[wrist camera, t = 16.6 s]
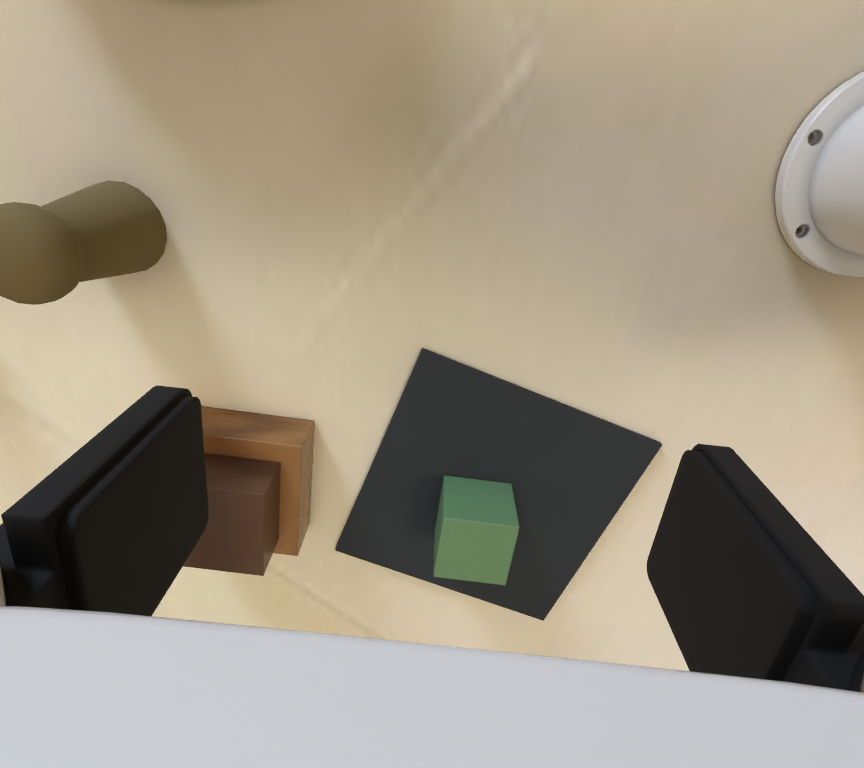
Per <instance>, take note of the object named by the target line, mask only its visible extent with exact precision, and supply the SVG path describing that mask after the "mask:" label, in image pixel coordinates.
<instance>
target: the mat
mask: <svg viewBox="0 0 864 768" xmlns="http://www.w3.org/2000/svg"><path fill="white" fill-rule="evenodd" d="M661 446H662V444H661V443H660V442H658V441H655V440H653V439H650V438H648V437H645V436H643V435H640V434H638V433H635V432H633V431H630V430H628V429H625V428H622V427H620V426H617V425H615V424H612V423H610V422H607V421H605V420H602V419H600V418H597V417H595V416H592V415H590V414H587V413H585V412H582V411H580V410H577V409H575V408H572V407H570V406H567V405H565V404H562V403H560V402H557V401H555V400H552V399H549V398H547V397H544V396H542V395H539V394H537V393H534V392H532V391H529V390H527V389H524V388H522V387H519V386H517V385H514V384H512V383H509V382H507V381H504V380H502V379H499V378H497V377H494V376H492V375H489V374H487V373H484V372H482V371H479V370H476V369H474V368H471V367H469V366H466V365H464V364H461V363H459V362H456V361H454V360H451V359H449V358H446V357H444V356H441V355H439V354H436V353H434V352H431V351H429V350H426V349H424V348H422V350H421V353H420V355H419V357H418V360H417V362H416V364H415V366H414V369H413V371H412V373H411V376H410V378H409V380H408V383H407V385H406V387H405V389H404V392H403V394H402V396H401V399H400V401H399V403H398V406H397V408H396V410H395V413H394V415H393V417H392V419H391V422H390V424H389V426H388V429H387V431H386V433H385V436H384V438H383V440H382V442H381V445H380V447H379V449H378V452H377V454H376V456H375V459H374V461H373V463H372V465H371V468H370V470H369V472H368V475H367V477H366V479H365V482H364V484H363V486H362V489H361V491H360V493H359V495H358V498H357V500H356V502H355V505H354V507H353V509H352V512H351V514H350V516H349V518H348V521H347V523H346V525H345V528H344V530H343V532H342V535H341V537H340V539H339V541H338V544H337V546H336V549H335V550H336V551H339V552H342V553H345V554H348V555H351V556H354V557H357V558H360V559H363V560H365V561H368V562H371V563H374V564H377V565H380V566H383V567H386V568H389V569H392V570H395V571H398V572H401V573H404V574H407V575H410V576H413V577H416V578H419V579H422V580H425V581H428V582H431V583H434V584H437V585H440V586H443V587H445V588H448V589H451V590H454V591H457V592H460V593H463V594H466V595H469V596H472V597H475V598H478V599H481V600H484V601H487V602H490V603H493V604H496V605H499V606H502V607H505V608H508V609H511V610H514V611H517V612H520V613H523V614H525V615H528V616H531V617H534V618H537V619H540V620H544V619H545V617H546V616H547V614H548V613H549V611H550V610H551V608H552V607H553V606H554V604H555V603H556V601H557V600H558V598H559V597H560V595H561V594H562V592H563V591H564V589H565V588H566V586H567V585H568V583H569V582H570V580H571V579H572V577H573V576H574V575H575V573H576V572H577V570H578V569H579V567H580V566H581V564H582V563H583V561H584V560H585V558H586V557H587V555H588V554H589V552H590V551H591V549H592V548H593V546H594V545H595V543H596V542H597V541H598V539H599V538H600V536H601V535H602V533H603V532H604V530H605V529H606V527H607V526H608V524H609V523H610V521H611V520H612V518H613V517H614V515H615V514H616V512H617V511H618V510H619V508H620V507H621V505H622V504H623V502H624V501H625V499H626V498H627V496H628V495H629V493H630V492H631V490H632V489H633V487H634V486H635V484H636V483H637V481H638V480H639V479H640V477H641V476H642V474H643V473H644V471H645V470H646V468H647V467H648V465H649V464H650V462H651V461H652V459H653V458H654V456H655V455H656V453H657V452H658V450H659V449H660V448H661ZM444 476H453V477H461V478H469V479H477V480H485V481H493V482H501V483H509V484H512V489H513V495H514V500H515V506H516V511H517V517H518V522H519V531H518V536H517V540H516V544H515V548H514V552H513V556H512V561H511V565H510V569H509V573H508V577H507V581H506V585H499V584H490V583H482V582H474V581H465V580H457V579H449V578H440V577H434V576H433V573H434V543H435V526H436V520H437V514H438V508H439V502H440V496H441V490H442V484H443V478H444Z"/></svg>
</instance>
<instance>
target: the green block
mask: <svg viewBox="0 0 864 768" xmlns="http://www.w3.org/2000/svg"><path fill="white" fill-rule="evenodd" d="M518 531H519V522H518V517H517V511H516V506H515V500H514V495H513V489H512V484H509V483H501V482H493V481H485V480H477V479H469V478H461V477H453V476H444V478H443V484H442V490H441V496H440V502H439V508H438V514H437V520H436V526H435V543H434V573H433V576H434V577H440V578H449V579H457V580H465V581H474V582H482V583H490V584H499V585H506V581H507V577H508V573H509V569H510V565H511V561H512V556H513V552H514V548H515V544H516V540H517V536H518Z"/></svg>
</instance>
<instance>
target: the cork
mask: <svg viewBox="0 0 864 768" xmlns="http://www.w3.org/2000/svg"><path fill="white" fill-rule="evenodd" d="M165 244H166V230H165V224H164V222H163V219H162V217H161V214H160V212H159V210H158V209H157V208H156V206H155V205H154V204H153V202H152V201H151V199H150V198H148V197H147V196H146V195H145V194H143V193H142V192H141V191H140V190H138V189H137V188H135V187H132V186H130V185H128V184H125V183H123V182H113V181H107V182H102V183H98V184H95V185H92V186H90V187H87V188H85V189H82V190H80V191H78V192H75V193H73V194H70V195H68V196H65V197H63V198H60V199H58V200H55V201H53V202H50V203H48V204H46V205H43V206H41V207H40V206H37V205H32V204H25V203H16V202H13V203H5V204H1V205H0V296H2V297H5V298H7V299H10V300H12V301H15V302H17V303H24V304H43V303H48V302H53V301H56V300H58V299H60V298H62V297H64V296H65V295H67V294H68V293H69V292H71V291H72V290H73V289H74V288H75V287H76V286H77V284H78V283H79V282H82V281H88V280H94V279H100V278H105V277H111V276H117V275H123V274H129V273H135V272H139V271H144V270H147V269H148V268H150V267H151V266H153V265H154V264H156V263H157V262H158V260H159V259H160V257H161V256H162V254H163V252H164V248H165Z"/></svg>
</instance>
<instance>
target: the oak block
mask: <svg viewBox="0 0 864 768" xmlns="http://www.w3.org/2000/svg"><path fill="white" fill-rule="evenodd" d="M201 413H202V427H203V440H204V453H210V454H218V455H226V456H234V457H242V458H250V459H258V460H266V461H274V462H280V463H281V469H280V511H279V540H278V542H277V544H276V547H275V549H274V551H273V553H278V554H286V555H295V556H298V554H299V551H300V548H301V545H302V542H303V540H304V537H305V534H306V531H307V528H308V526H309V517H310V497H311V477H312V458H313V438H314V421H310V420H302V419H294V418H286V417H278V416H271V415H263V414H255V413H247V412H239V411H231V410H224V409H216V408H208V407H201Z"/></svg>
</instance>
